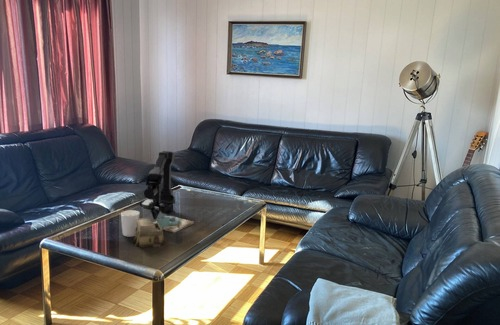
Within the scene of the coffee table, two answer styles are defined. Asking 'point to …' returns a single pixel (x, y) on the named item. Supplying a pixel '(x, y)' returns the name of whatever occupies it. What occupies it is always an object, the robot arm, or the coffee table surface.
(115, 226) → the coffee table surface
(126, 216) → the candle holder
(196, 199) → the coffee table surface
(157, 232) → the miniature house
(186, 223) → the post board
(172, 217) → the flange
